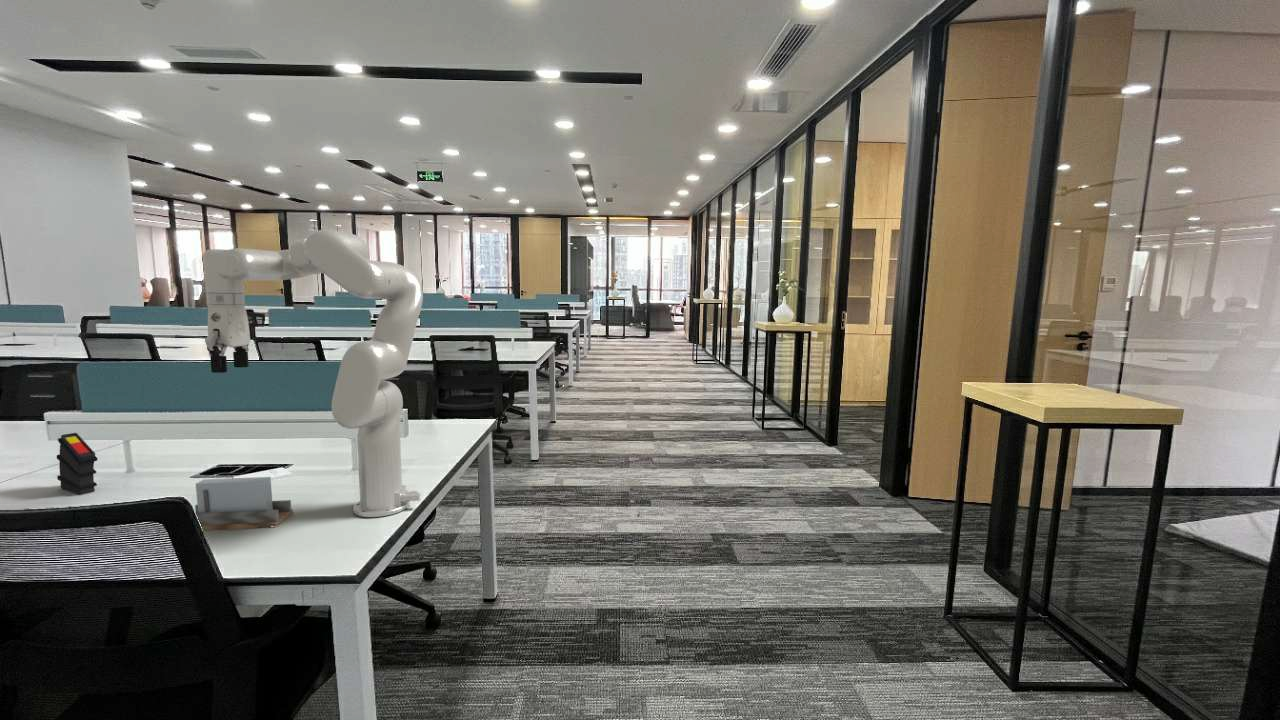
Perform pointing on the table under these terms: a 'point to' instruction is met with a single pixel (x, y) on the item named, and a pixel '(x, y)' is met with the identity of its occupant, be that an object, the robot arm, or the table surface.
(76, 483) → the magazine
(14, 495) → the table surface
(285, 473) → the external hard drive
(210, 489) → the door panel
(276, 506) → the track base
